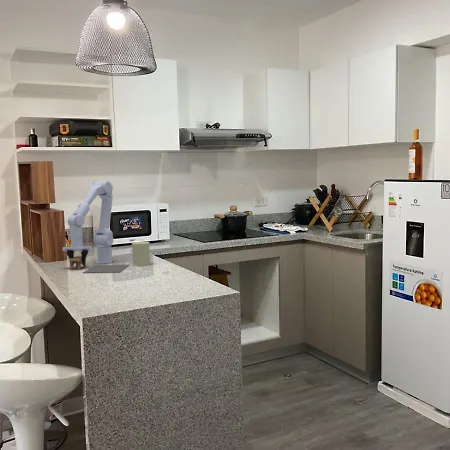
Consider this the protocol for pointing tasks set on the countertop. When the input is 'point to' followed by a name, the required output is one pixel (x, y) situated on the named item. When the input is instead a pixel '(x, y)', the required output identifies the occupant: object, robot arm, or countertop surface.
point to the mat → (106, 269)
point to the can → (141, 253)
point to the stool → (76, 260)
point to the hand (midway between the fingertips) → (78, 264)
